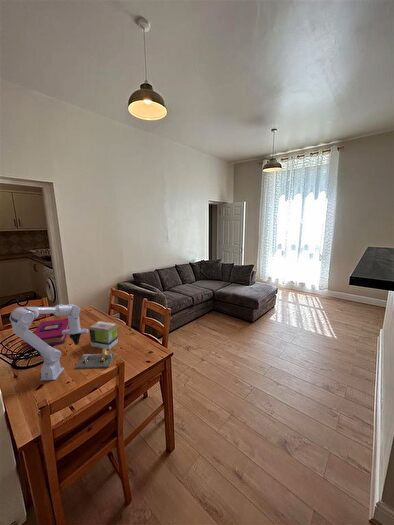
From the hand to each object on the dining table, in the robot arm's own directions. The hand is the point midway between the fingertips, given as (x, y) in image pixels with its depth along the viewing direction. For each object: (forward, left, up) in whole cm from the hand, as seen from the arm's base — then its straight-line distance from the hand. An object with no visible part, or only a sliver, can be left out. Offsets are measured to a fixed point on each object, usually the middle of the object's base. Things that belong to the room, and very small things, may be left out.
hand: (76, 343), depth 133 cm
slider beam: (-3, -12, -9) cm, 15 cm away
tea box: (+16, -11, -11) cm, 22 cm away
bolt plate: (-3, -12, -10) cm, 16 cm away
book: (+29, +32, -11) cm, 44 cm away
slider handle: (-2, -16, -9) cm, 19 cm away
